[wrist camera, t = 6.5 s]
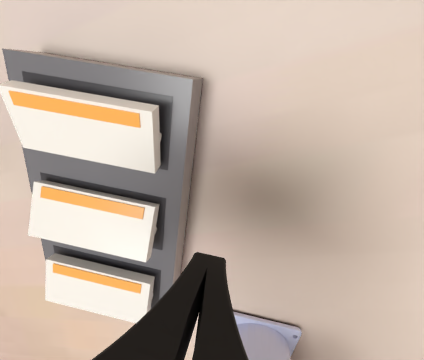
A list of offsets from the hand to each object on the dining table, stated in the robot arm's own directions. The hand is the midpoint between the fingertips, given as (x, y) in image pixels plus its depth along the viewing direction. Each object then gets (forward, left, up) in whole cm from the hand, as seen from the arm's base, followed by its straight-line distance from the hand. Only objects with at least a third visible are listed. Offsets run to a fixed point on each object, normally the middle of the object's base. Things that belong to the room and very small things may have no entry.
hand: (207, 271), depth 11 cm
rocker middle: (-3, +9, -6) cm, 11 cm away
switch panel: (-3, +9, -9) cm, 13 cm away
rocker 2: (-10, +9, -6) cm, 15 cm away
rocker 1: (+4, +9, -6) cm, 11 cm away
